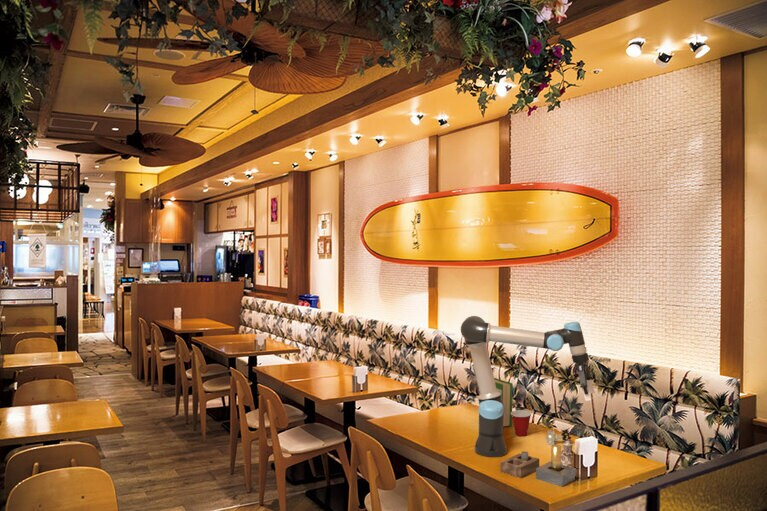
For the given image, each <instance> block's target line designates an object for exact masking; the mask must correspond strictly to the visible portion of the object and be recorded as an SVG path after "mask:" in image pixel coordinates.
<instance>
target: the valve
mask: <svg viewBox="0 0 767 511" xmlns="http://www.w3.org/2000/svg"><path fill="white" fill-rule="evenodd" d="M546 432H547V433H546V434H547V435H546V445H548V446H552V445H555V441H559V439H560V440H561V439H562V441H564V442H565V441H567V440H568V439H569V440H571V439H572V437H571V436H570V435H571V432H570V431H569V432H568V429H562V433H561V434H559V435H558V434H557V433H555V431H554V430H547V431H546Z"/></svg>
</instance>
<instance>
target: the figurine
mask: <svg viewBox="0 0 767 511" xmlns="http://www.w3.org/2000/svg"><path fill="white" fill-rule="evenodd" d="M567 439H568V438H567ZM562 446H563V448H562V449H561V465H565V466H568V467H572V468H573V453H575V452H574V451H573V443H572V442H571V439H568V440H567V441H564V442H563V445H562Z"/></svg>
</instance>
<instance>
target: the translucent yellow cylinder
mask: <svg viewBox="0 0 767 511" xmlns="http://www.w3.org/2000/svg"><path fill="white" fill-rule="evenodd" d="M550 451H551V456H550V457H551V458H550V459H551V460H550V462H551V470H555V471H558V472H560V471H561V452H562V445H561V444H554V445H551V450H550Z"/></svg>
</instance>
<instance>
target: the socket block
mask: <svg viewBox="0 0 767 511" xmlns="http://www.w3.org/2000/svg"><path fill="white" fill-rule="evenodd" d="M575 476H577V467H576V468H572V467H568V466H565V465H561V471H560V472H558V471H555V470H551V461H548V462H546V463H544V464H542V465H539V467H538V468H536V471H535V479H536V480H538V481H542V482H545V483H549V484H551V485H554V486H555V485H556V486H559V487H565V486H567V485H568V484H570V483H571V482H573V481H575V480H576V479H575Z"/></svg>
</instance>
